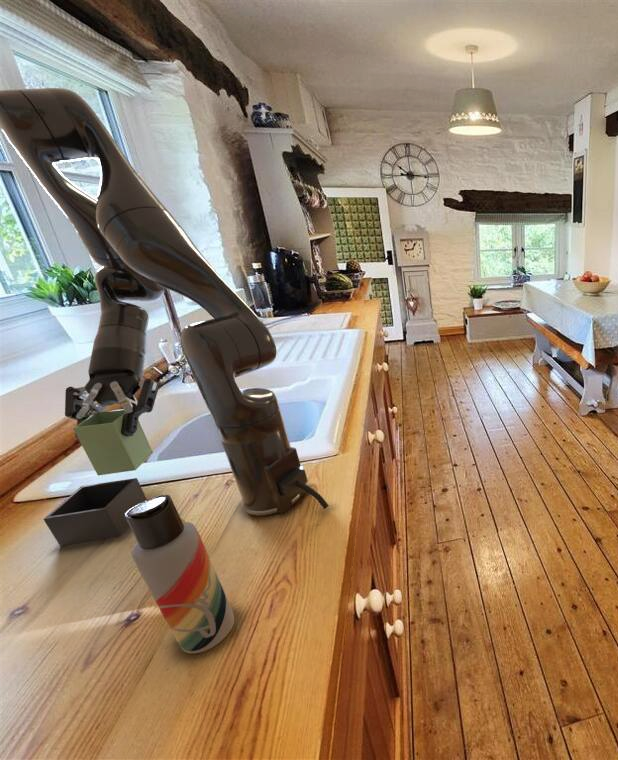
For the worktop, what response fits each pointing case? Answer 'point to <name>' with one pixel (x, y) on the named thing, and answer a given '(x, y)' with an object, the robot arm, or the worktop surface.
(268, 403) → the robot arm
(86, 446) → the green bin
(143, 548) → the lotion bottle
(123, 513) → the charcoal bin
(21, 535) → the worktop surface
